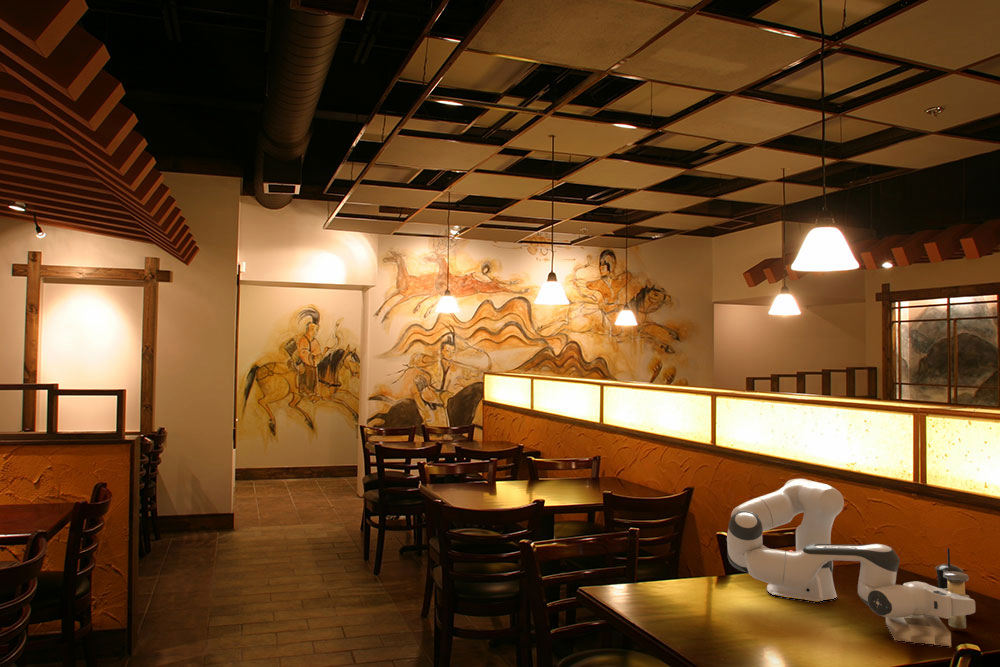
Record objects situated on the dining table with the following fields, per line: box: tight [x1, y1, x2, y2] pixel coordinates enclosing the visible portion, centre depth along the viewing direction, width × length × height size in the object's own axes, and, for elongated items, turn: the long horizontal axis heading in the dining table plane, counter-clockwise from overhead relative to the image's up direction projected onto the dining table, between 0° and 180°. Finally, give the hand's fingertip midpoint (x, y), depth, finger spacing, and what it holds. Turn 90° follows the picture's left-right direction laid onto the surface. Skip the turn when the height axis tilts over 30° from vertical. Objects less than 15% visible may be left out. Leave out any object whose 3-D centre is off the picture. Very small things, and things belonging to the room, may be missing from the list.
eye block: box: [885, 615, 952, 648], centre depth 208 cm, size 14×14×4 cm
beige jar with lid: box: [943, 571, 970, 630], centre depth 213 cm, size 6×6×15 cm
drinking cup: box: [935, 547, 964, 589], centre depth 230 cm, size 8×8×20 cm
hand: (958, 594), depth 213 cm, fingers closed on beige jar with lid, 4 cm apart
